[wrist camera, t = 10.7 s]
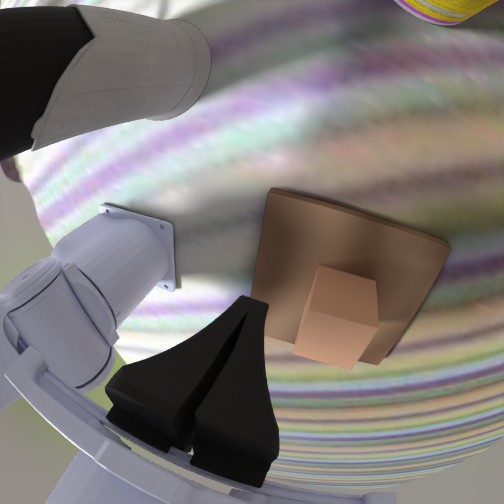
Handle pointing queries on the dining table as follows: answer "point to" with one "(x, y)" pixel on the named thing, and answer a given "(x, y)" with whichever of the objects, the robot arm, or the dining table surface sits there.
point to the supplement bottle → (444, 9)
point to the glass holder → (92, 72)
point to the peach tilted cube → (338, 318)
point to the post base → (341, 264)
